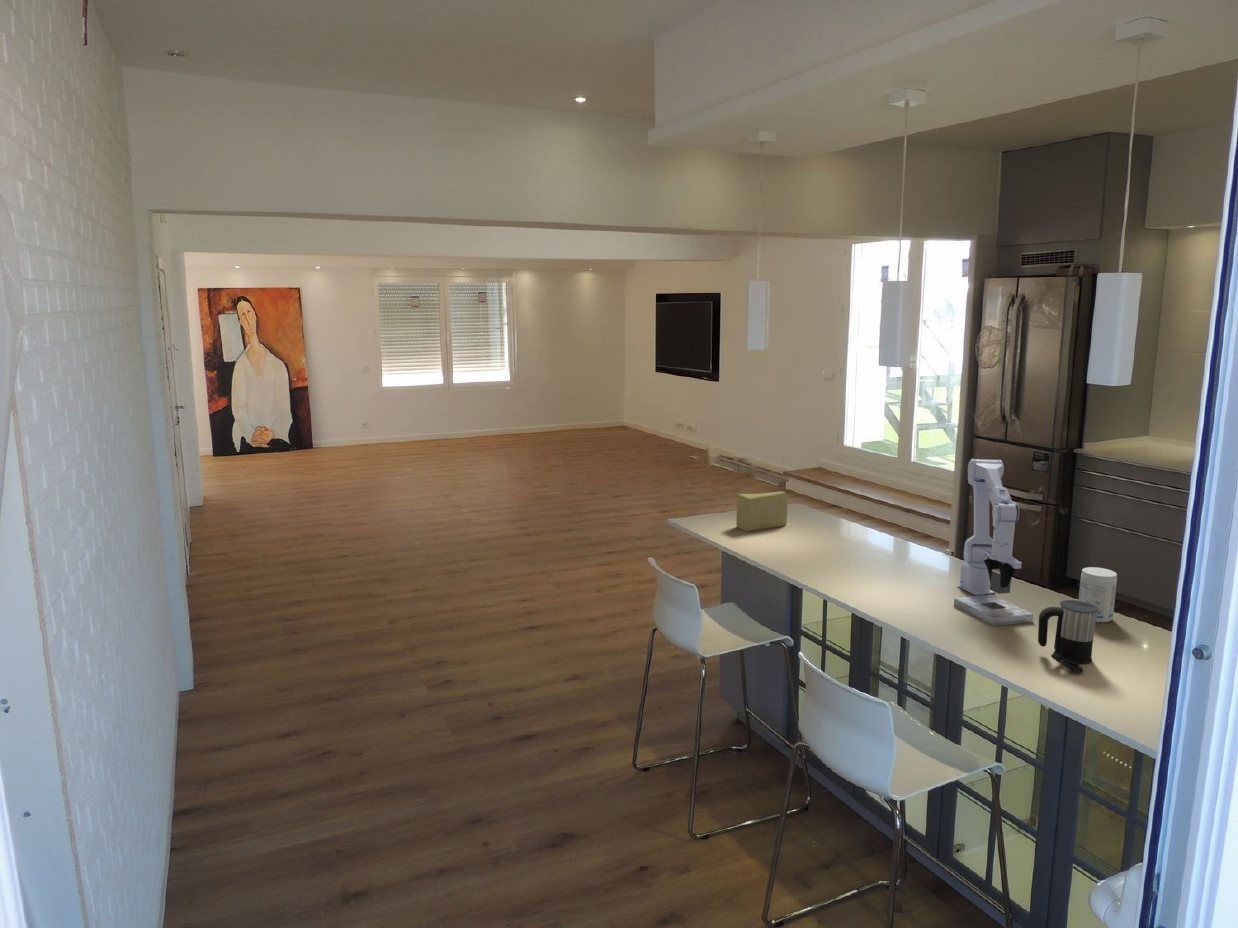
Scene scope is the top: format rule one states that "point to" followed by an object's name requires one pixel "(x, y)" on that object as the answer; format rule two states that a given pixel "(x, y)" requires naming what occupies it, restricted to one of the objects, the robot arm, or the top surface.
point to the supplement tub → (1099, 591)
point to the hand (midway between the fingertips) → (998, 584)
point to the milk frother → (1070, 632)
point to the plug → (998, 583)
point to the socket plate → (993, 610)
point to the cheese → (761, 511)
